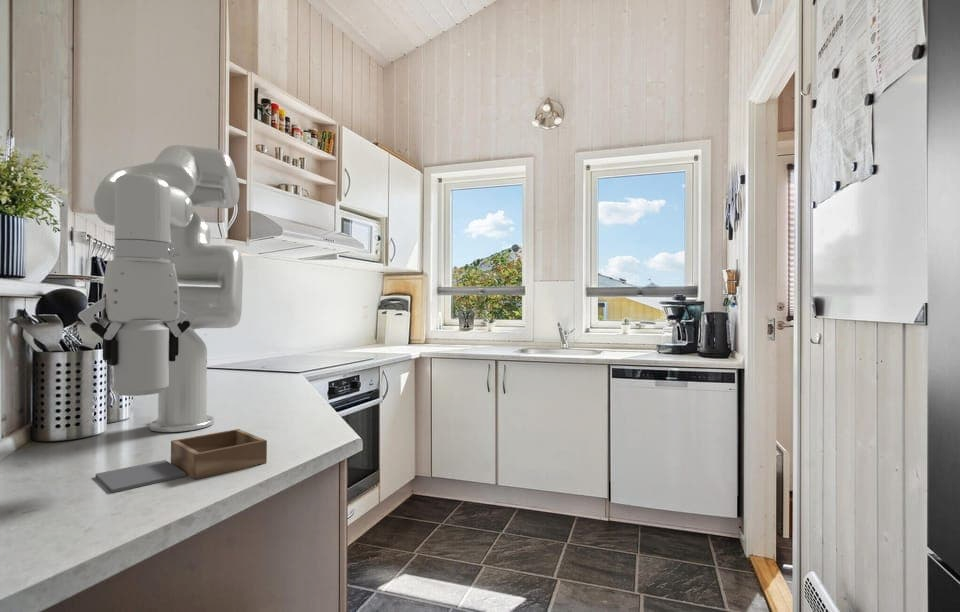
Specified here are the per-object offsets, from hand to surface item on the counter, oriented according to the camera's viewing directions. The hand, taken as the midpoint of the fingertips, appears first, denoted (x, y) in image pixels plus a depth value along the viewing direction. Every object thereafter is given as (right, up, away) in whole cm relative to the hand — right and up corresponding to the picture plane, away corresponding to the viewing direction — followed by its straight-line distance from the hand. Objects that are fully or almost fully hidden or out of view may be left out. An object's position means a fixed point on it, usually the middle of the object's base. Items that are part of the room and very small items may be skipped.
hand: (141, 361), depth 82 cm
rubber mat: (0, -19, 0) cm, 19 cm away
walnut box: (+9, -19, +7) cm, 22 cm away
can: (0, -5, 0) cm, 5 cm away
